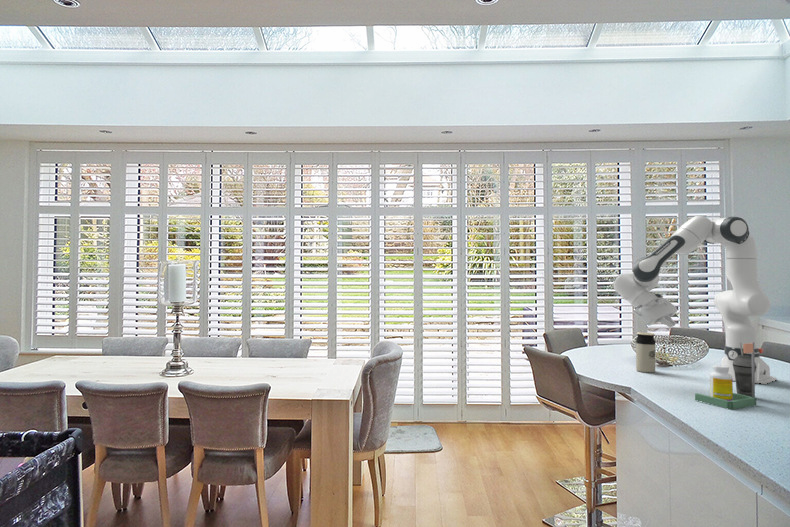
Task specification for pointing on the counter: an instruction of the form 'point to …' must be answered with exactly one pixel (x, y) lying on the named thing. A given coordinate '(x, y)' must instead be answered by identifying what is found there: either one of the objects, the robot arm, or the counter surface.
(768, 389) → the counter surface
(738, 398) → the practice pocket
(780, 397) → the counter surface
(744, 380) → the beverage cup
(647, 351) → the travel mug
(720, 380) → the supplement bottle
